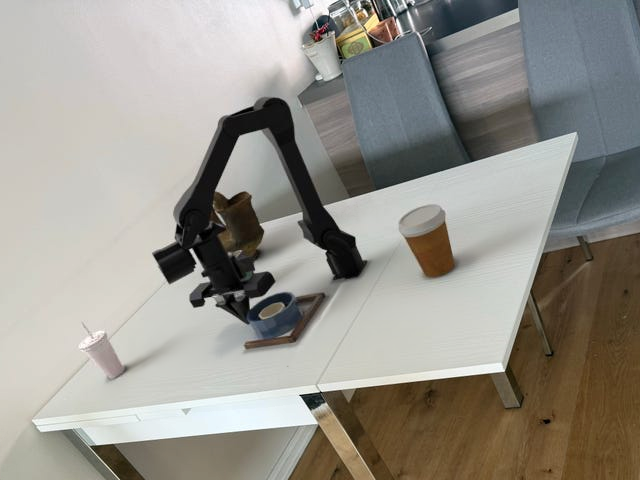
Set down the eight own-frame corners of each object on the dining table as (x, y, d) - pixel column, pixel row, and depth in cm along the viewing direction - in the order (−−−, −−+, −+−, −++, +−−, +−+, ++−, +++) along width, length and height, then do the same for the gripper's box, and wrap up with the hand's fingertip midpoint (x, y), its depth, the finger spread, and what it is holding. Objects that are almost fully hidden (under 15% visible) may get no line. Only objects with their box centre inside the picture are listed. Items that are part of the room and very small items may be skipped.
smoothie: (113, 383, 150) (76, 332, 143) (98, 381, 154) (60, 331, 147) (134, 364, 154) (99, 314, 147) (119, 363, 158) (83, 314, 151)
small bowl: (294, 314, 143) (287, 300, 141) (284, 329, 139) (276, 316, 137) (273, 317, 146) (266, 304, 144) (262, 333, 142) (254, 319, 140)
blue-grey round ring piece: (311, 307, 144) (302, 288, 141) (291, 337, 136) (280, 318, 134) (270, 314, 149) (261, 296, 146) (248, 343, 141) (237, 324, 139)
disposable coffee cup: (410, 285, 135) (388, 231, 129) (425, 259, 142) (405, 208, 136) (454, 278, 131) (434, 223, 124) (468, 253, 137) (449, 199, 131)
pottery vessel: (288, 246, 179) (253, 176, 169) (262, 269, 173) (224, 198, 163) (227, 250, 195) (192, 187, 185) (201, 271, 189) (164, 207, 179)
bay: (326, 297, 145) (323, 291, 144) (295, 344, 133) (292, 338, 132) (280, 305, 151) (277, 300, 150) (246, 351, 139) (243, 345, 138)
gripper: (270, 232, 139) (301, 296, 147) (199, 247, 147) (233, 307, 155) (244, 260, 131) (279, 326, 139) (171, 274, 139) (208, 336, 147)
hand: (249, 323), depth 145 cm, fingers closed
